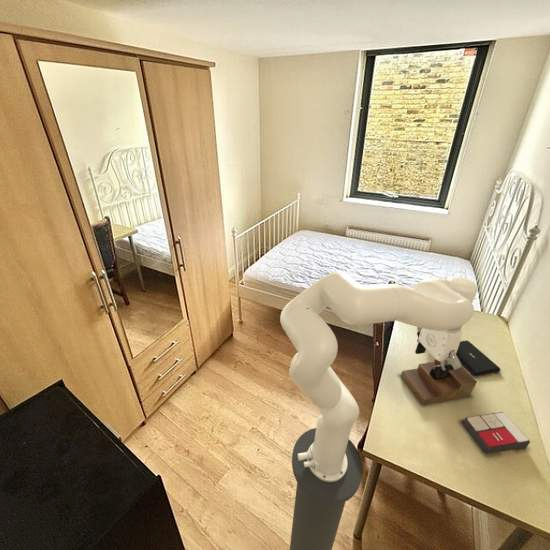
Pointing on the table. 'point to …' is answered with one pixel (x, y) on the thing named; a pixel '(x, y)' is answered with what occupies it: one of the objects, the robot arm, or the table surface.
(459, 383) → the wooden stair steps
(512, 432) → the red grey flat block
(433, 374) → the clip
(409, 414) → the table surface
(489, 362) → the laptop
